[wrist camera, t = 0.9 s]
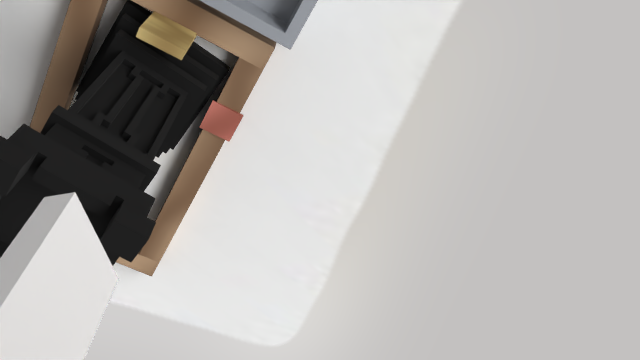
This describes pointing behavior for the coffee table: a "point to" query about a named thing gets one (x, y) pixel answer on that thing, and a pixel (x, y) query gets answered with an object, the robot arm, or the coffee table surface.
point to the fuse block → (175, 39)
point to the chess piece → (109, 137)
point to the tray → (269, 16)
